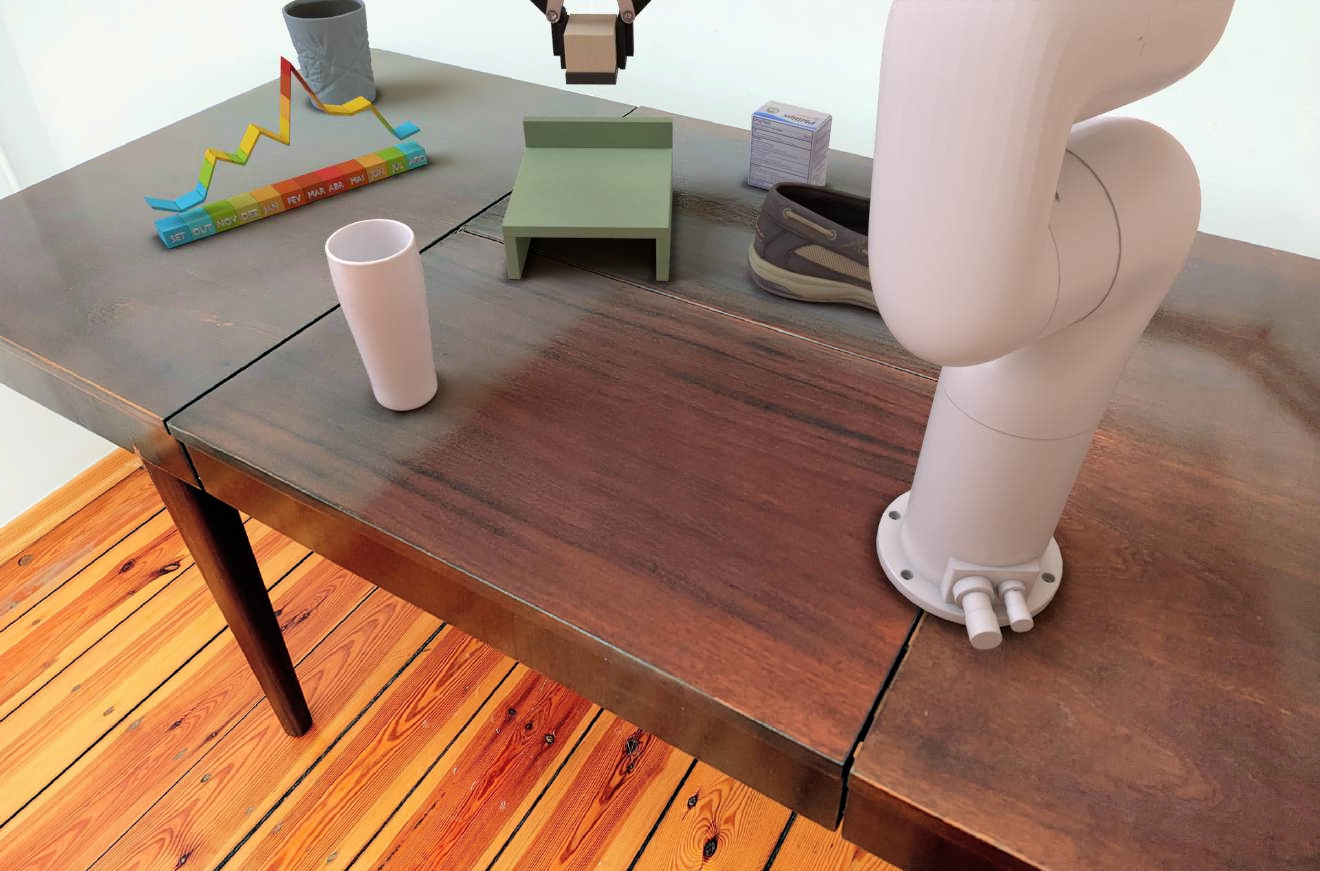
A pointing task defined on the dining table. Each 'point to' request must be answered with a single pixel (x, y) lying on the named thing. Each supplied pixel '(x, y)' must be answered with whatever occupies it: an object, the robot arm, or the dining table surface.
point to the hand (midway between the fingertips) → (594, 61)
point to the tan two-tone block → (591, 49)
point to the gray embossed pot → (332, 48)
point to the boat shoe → (813, 245)
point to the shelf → (592, 184)
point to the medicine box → (788, 145)
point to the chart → (288, 191)
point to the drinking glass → (386, 308)
